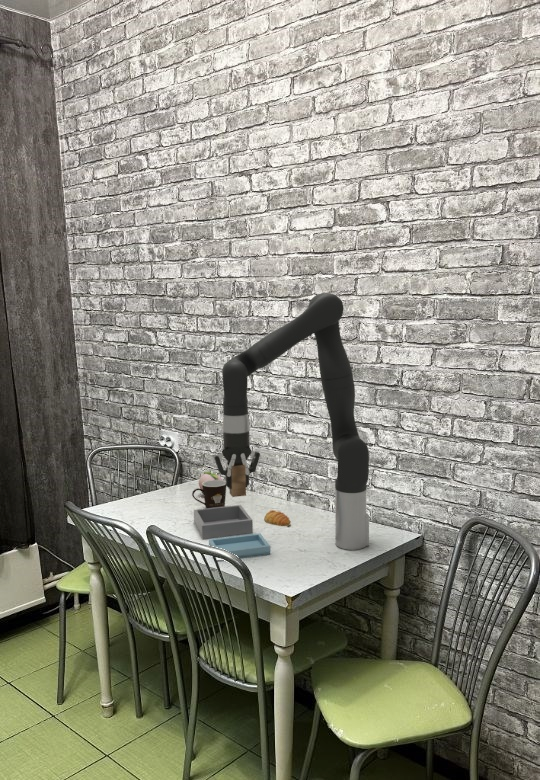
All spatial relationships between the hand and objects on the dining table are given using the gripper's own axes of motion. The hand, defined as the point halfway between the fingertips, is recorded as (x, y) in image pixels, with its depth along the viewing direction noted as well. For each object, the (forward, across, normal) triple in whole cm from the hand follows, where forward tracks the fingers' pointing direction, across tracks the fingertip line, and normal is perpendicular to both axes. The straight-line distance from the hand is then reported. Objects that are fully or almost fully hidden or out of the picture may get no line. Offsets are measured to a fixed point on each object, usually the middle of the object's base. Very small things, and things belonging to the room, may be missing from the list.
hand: (237, 487), depth 183 cm
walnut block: (+2, 0, 0) cm, 2 cm away
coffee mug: (+20, -1, +39) cm, 44 cm away
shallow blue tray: (+19, 0, 0) cm, 19 cm away
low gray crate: (+19, -1, +19) cm, 27 cm away
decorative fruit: (+20, +2, +56) cm, 59 cm away
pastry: (+20, +18, +19) cm, 33 cm away
